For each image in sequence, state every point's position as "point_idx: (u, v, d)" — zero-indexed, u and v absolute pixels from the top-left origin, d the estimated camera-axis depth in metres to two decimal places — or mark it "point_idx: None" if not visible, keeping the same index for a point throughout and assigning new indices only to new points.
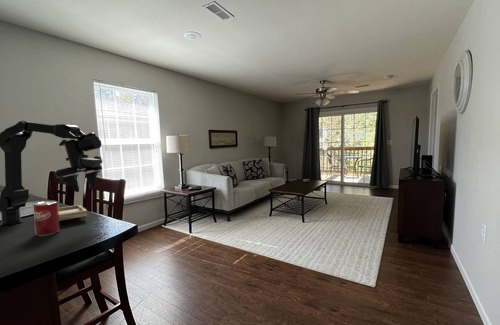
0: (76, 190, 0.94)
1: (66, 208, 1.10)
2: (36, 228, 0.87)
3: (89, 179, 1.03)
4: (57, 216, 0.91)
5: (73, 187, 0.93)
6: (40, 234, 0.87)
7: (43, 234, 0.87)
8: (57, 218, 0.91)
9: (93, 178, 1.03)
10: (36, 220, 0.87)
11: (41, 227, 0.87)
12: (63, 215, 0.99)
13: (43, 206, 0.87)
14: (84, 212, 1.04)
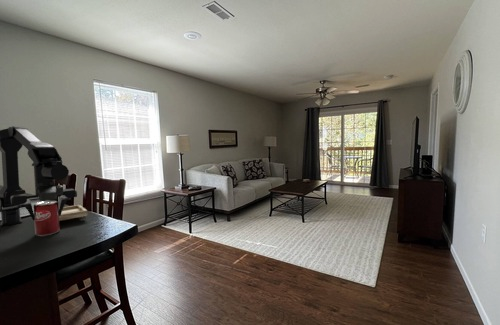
0: (32, 218, 0.87)
1: (66, 208, 1.10)
2: (36, 228, 0.87)
3: None
4: (57, 216, 0.91)
5: (30, 214, 0.87)
6: (40, 234, 0.87)
7: (43, 234, 0.87)
8: (57, 218, 0.91)
9: (59, 206, 0.92)
10: (36, 220, 0.87)
11: (41, 227, 0.87)
12: (63, 215, 0.99)
13: (43, 206, 0.87)
14: (84, 212, 1.04)
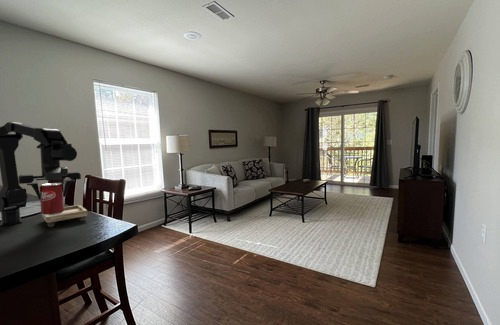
0: (38, 198, 0.91)
1: (66, 208, 1.10)
2: (42, 207, 0.91)
3: (63, 186, 0.98)
4: (62, 197, 0.95)
5: None
6: (45, 213, 0.91)
7: (48, 213, 0.92)
8: (62, 199, 0.95)
9: (64, 187, 0.97)
10: (42, 200, 0.91)
11: (47, 207, 0.91)
12: (63, 215, 0.99)
13: (49, 187, 0.91)
14: (84, 212, 1.04)
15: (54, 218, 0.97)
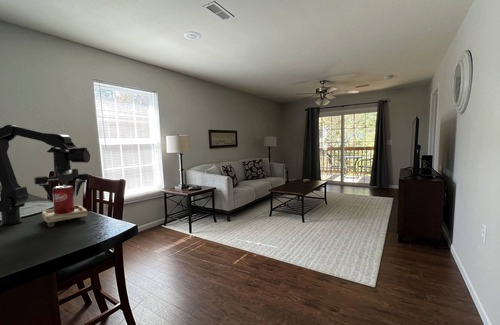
0: (49, 197, 1.00)
1: None
2: (55, 208, 1.01)
3: (75, 186, 1.08)
4: (72, 198, 1.05)
5: (47, 194, 1.00)
6: (58, 213, 1.01)
7: (61, 213, 1.01)
8: (72, 200, 1.05)
9: (76, 187, 1.07)
10: (55, 201, 1.01)
11: (59, 207, 1.01)
12: (63, 215, 0.99)
13: (61, 189, 1.01)
14: (84, 212, 1.04)
15: (54, 218, 0.97)
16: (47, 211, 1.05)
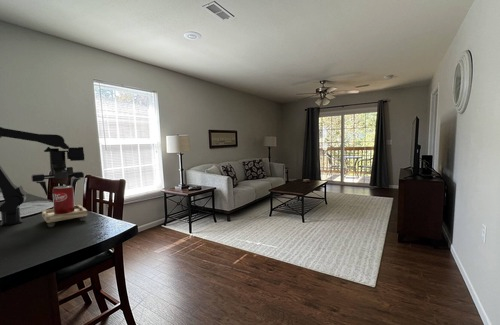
0: None
1: None
2: (55, 208, 1.01)
3: (71, 184, 1.15)
4: (72, 198, 1.05)
5: (44, 191, 1.07)
6: (58, 213, 1.01)
7: (61, 213, 1.01)
8: (72, 200, 1.05)
9: (72, 184, 1.13)
10: (55, 201, 1.01)
11: (59, 207, 1.01)
12: (63, 215, 0.99)
13: (61, 189, 1.01)
14: (84, 212, 1.04)
15: (54, 218, 0.97)
16: (47, 211, 1.05)
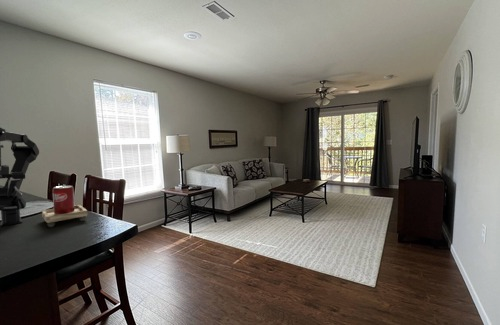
0: None
1: None
2: (55, 208, 1.01)
3: (8, 187, 0.95)
4: (72, 198, 1.05)
5: None
6: (58, 213, 1.01)
7: (61, 213, 1.01)
8: (72, 200, 1.05)
9: (9, 187, 0.93)
10: (55, 201, 1.01)
11: (59, 207, 1.01)
12: (63, 215, 0.99)
13: (61, 189, 1.01)
14: (84, 212, 1.04)
15: (54, 218, 0.97)
16: (47, 211, 1.05)
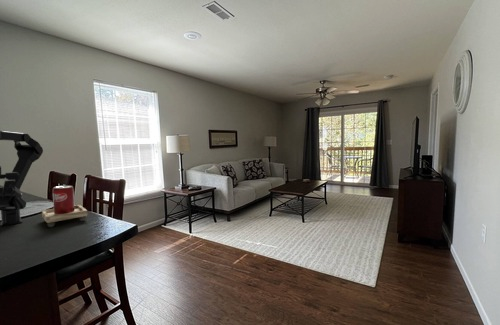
0: None
1: None
2: (55, 208, 1.01)
3: (3, 187, 0.94)
4: (72, 198, 1.05)
5: None
6: (58, 213, 1.01)
7: (61, 213, 1.01)
8: (72, 200, 1.05)
9: (3, 188, 0.92)
10: (55, 201, 1.01)
11: (59, 207, 1.01)
12: (63, 215, 0.99)
13: (61, 189, 1.01)
14: (84, 212, 1.04)
15: (54, 218, 0.97)
16: (47, 211, 1.05)
